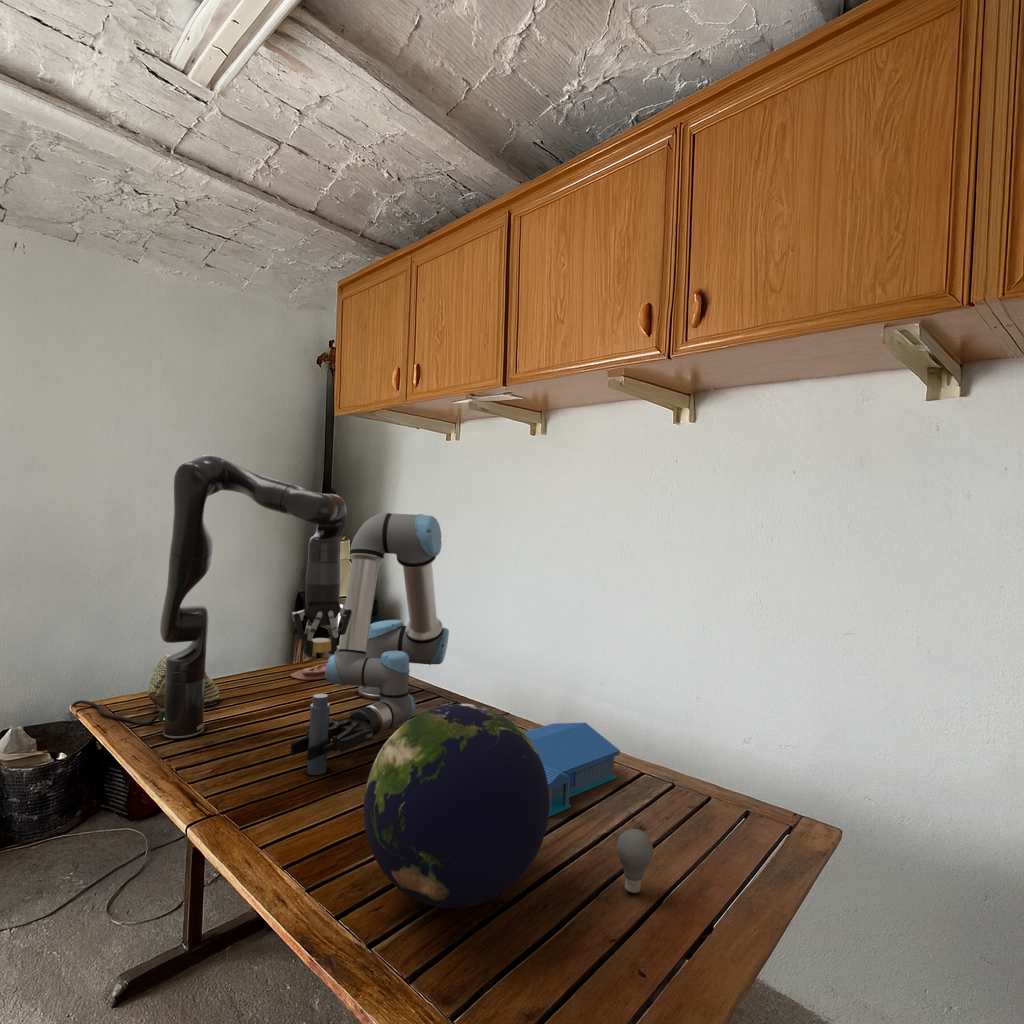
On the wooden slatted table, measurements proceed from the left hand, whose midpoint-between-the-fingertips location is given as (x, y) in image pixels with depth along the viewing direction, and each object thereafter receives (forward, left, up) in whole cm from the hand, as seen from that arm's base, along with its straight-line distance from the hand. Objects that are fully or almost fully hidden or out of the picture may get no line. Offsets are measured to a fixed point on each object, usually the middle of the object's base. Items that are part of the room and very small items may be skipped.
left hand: (320, 654), depth 145 cm
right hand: (+2, -5, -21) cm, 21 cm away
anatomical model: (-72, +34, -27) cm, 84 cm away
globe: (+55, -3, -27) cm, 62 cm away
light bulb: (+74, +20, -27) cm, 81 cm away
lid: (0, 0, +3) cm, 3 cm away
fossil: (-63, -10, -27) cm, 70 cm away
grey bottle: (0, 0, -27) cm, 27 cm away
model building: (+36, +34, -27) cm, 57 cm away
